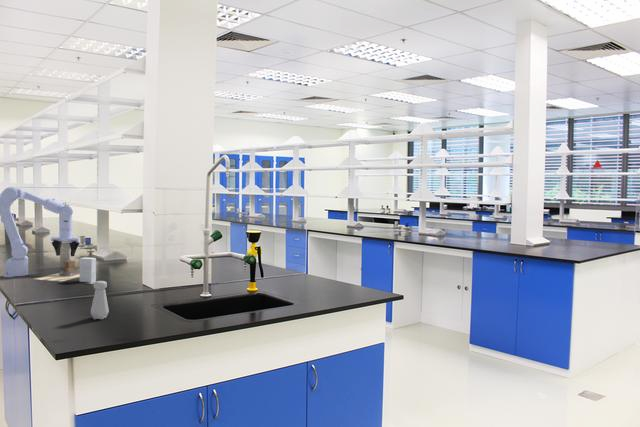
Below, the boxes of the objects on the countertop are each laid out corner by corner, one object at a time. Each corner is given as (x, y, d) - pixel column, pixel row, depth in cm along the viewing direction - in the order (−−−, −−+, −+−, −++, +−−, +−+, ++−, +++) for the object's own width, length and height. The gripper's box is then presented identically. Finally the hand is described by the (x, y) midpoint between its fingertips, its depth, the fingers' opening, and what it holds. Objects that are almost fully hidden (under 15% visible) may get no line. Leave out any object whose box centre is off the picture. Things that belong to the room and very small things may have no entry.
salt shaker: (94, 315, 177) (94, 279, 177) (110, 316, 178) (111, 280, 177) (87, 320, 171) (88, 282, 171) (105, 320, 172) (105, 283, 171)
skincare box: (96, 282, 238) (96, 257, 237) (91, 284, 234) (91, 258, 233) (84, 282, 238) (84, 257, 238) (78, 283, 234) (79, 258, 234)
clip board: (31, 281, 236) (31, 274, 236) (64, 273, 258) (64, 267, 257) (61, 283, 233) (61, 276, 233) (91, 276, 254) (91, 269, 254)
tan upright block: (63, 275, 248) (63, 261, 247) (69, 274, 252) (69, 260, 252) (68, 275, 247) (68, 261, 247) (74, 274, 251) (74, 260, 251)
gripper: (47, 229, 250) (46, 256, 250) (75, 230, 249) (74, 257, 249) (55, 228, 257) (55, 254, 257) (82, 229, 256) (82, 255, 256)
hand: (65, 255), depth 254 cm, fingers open, 7 cm apart
